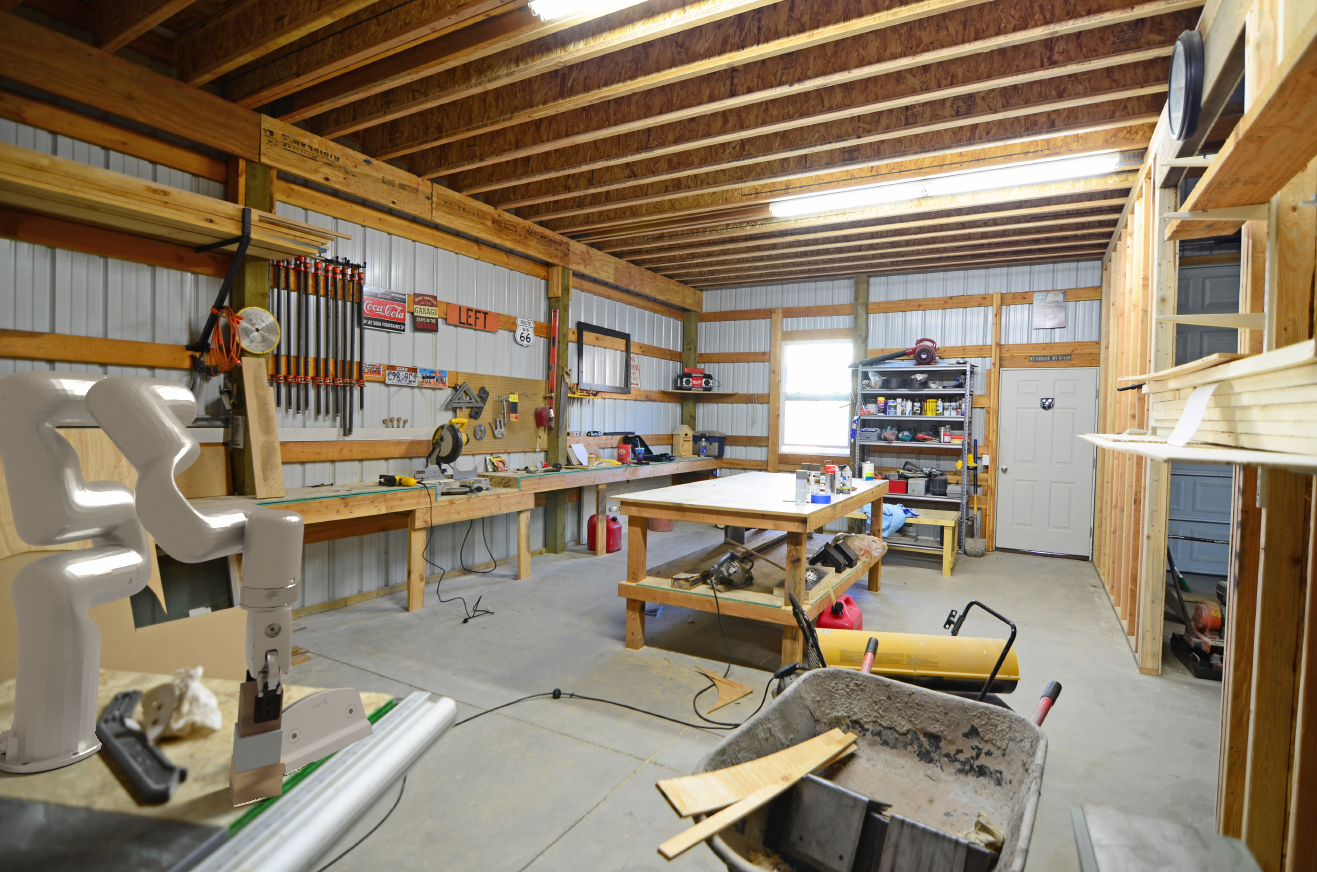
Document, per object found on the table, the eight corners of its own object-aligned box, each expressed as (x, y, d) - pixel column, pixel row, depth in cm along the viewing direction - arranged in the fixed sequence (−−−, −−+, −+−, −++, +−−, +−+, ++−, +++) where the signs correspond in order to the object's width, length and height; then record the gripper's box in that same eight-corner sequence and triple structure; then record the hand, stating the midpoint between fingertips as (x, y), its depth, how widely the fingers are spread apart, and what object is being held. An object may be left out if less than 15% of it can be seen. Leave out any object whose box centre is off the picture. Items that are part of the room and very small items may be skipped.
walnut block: (240, 737, 89) (243, 696, 89) (237, 722, 93) (240, 683, 93) (280, 729, 93) (283, 689, 92) (276, 714, 96) (278, 676, 96)
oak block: (233, 808, 89) (235, 774, 89) (229, 786, 94) (231, 754, 93) (281, 795, 93) (283, 762, 93) (275, 774, 97) (277, 743, 97)
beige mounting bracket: (284, 777, 97) (275, 711, 98) (265, 777, 99) (257, 713, 100) (374, 732, 112) (365, 676, 113) (357, 733, 114) (348, 678, 115)
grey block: (235, 773, 89) (238, 739, 89) (232, 754, 93) (234, 722, 93) (280, 762, 92) (282, 730, 92) (275, 745, 97) (277, 714, 97)
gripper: (309, 608, 88) (300, 726, 89) (288, 576, 101) (281, 679, 102) (246, 615, 83) (237, 739, 84) (233, 581, 97) (225, 688, 97)
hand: (261, 706), depth 93 cm, fingers open, 9 cm apart
